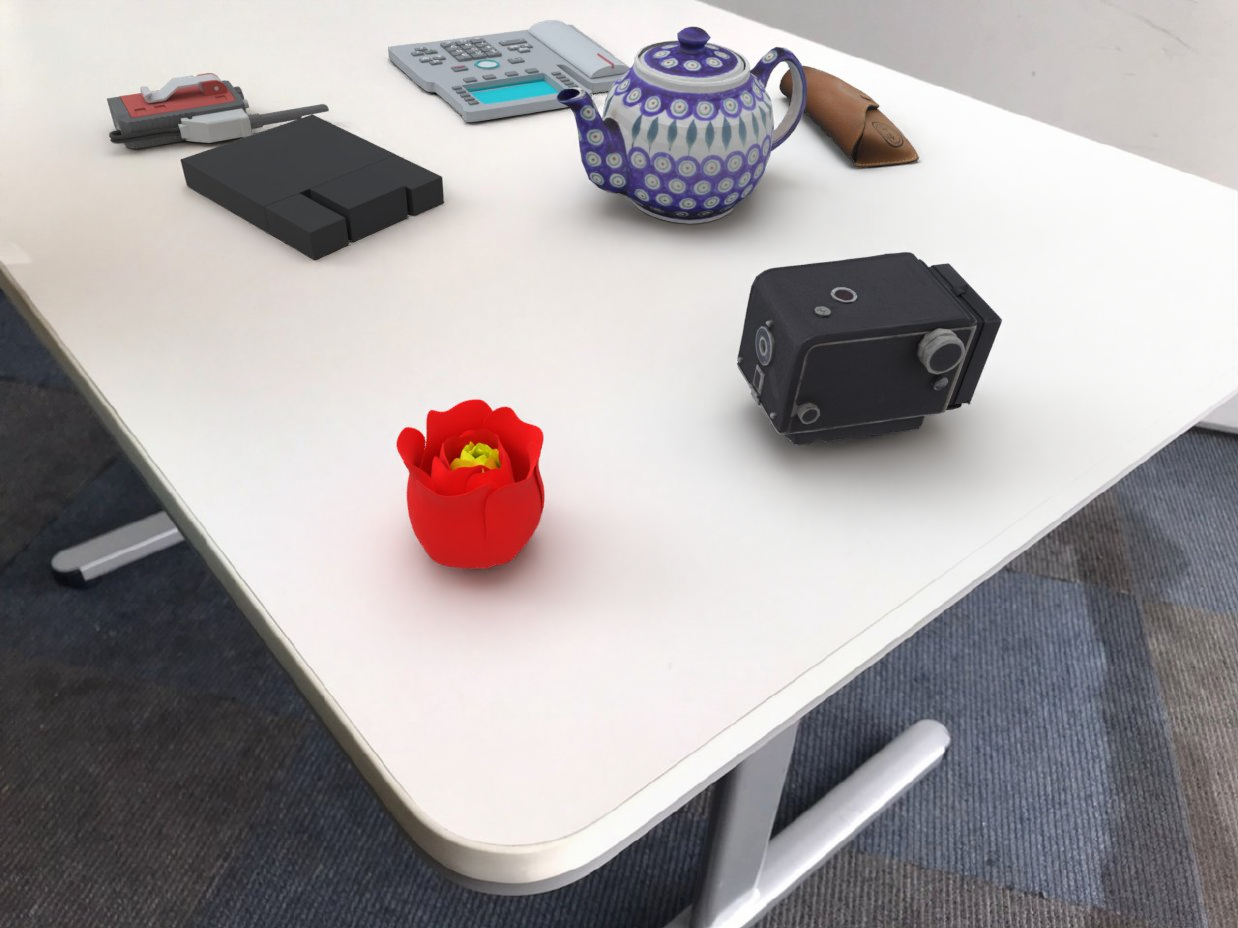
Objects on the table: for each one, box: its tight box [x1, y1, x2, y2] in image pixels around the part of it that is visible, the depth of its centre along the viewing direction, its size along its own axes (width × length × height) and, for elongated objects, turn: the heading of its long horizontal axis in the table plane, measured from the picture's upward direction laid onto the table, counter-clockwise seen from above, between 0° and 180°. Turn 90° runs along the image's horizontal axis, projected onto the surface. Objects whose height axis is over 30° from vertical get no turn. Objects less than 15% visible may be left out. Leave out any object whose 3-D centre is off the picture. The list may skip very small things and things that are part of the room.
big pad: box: [180, 114, 445, 261], centre depth 89 cm, size 14×18×2 cm
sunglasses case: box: [778, 64, 920, 168], centre depth 106 cm, size 18×7×7 cm
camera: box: [736, 251, 1003, 446], centre depth 66 cm, size 11×11×15 cm
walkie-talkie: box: [106, 72, 330, 150], centre depth 98 cm, size 9×4×20 cm
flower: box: [396, 398, 546, 570], centre depth 57 cm, size 8×8×8 cm
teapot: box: [556, 26, 807, 225], centre depth 88 cm, size 25×15×15 cm, turn 116°
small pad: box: [310, 167, 409, 243], centre depth 86 cm, size 6×5×3 cm
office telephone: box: [387, 19, 631, 123], centre depth 112 cm, size 23×3×20 cm
